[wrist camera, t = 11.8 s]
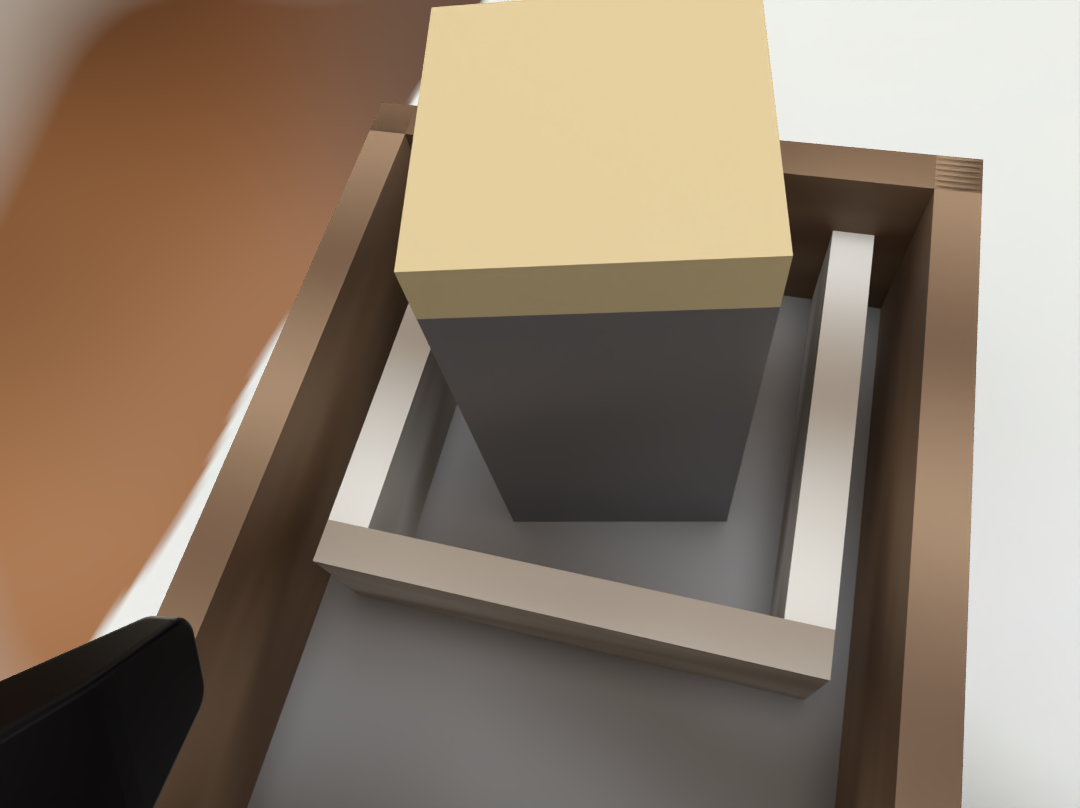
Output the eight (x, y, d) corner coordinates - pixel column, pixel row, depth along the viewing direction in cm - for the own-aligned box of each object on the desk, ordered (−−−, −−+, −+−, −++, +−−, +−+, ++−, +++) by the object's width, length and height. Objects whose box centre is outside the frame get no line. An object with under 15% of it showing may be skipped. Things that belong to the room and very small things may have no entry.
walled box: (824, 1533, 11) (922, 1945, 7) (73, 1196, 14) (-170, 1357, 10) (914, 296, 19) (982, 159, 15) (432, 233, 22) (382, 102, 18)
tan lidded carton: (726, 521, 17) (793, 255, 9) (513, 521, 17) (393, 272, 9) (715, 336, 19) (760, -20, 11) (524, 341, 19) (431, 7, 11)
